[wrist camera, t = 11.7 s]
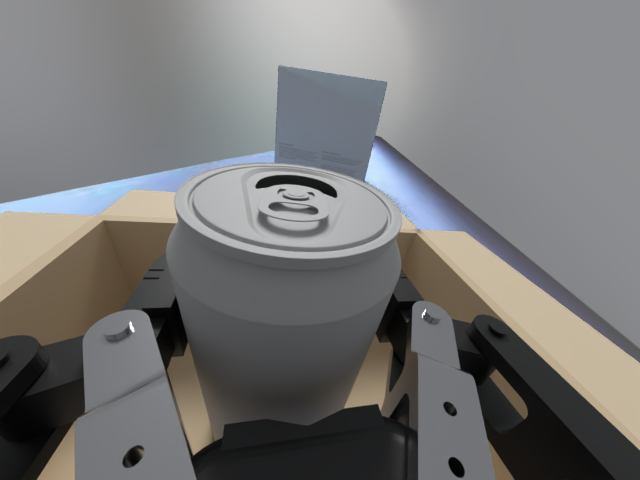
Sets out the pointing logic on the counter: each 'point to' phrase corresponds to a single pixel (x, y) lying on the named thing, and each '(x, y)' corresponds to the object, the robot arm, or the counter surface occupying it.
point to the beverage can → (280, 286)
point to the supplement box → (327, 120)
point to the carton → (369, 388)
